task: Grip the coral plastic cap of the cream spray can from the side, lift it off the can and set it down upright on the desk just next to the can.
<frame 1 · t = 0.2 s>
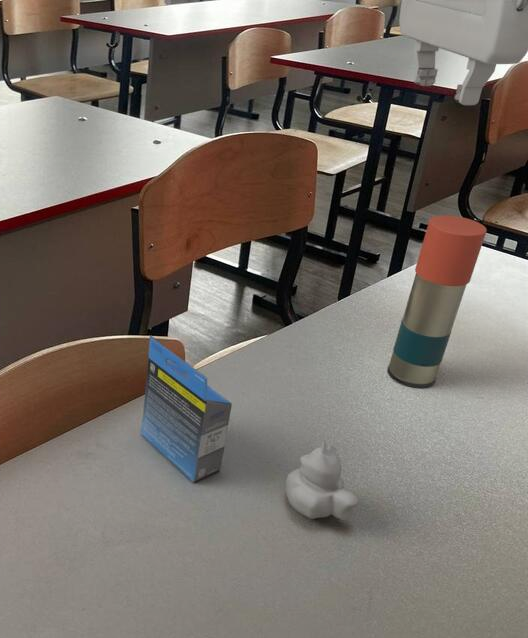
hand: (443, 93, 81), 32 cm above the table, tool pointing down, fingers open, 8 cm apart
tape cartridge: (179, 453, 78), on the table
grey animal figurine: (315, 513, 71), on the table
spray can: (410, 375, 91), on the table
cap: (442, 275, 84), point 13 cm above the table, touching spray can
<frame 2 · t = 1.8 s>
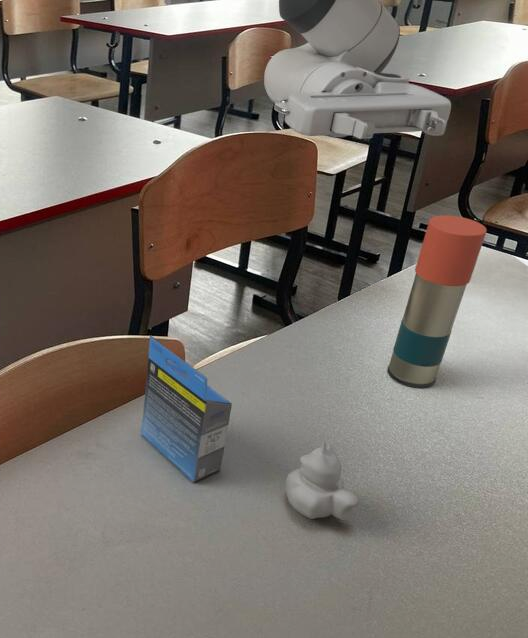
hand: (404, 130, 88), 26 cm above the table, tool horizontal, fingers open, 8 cm apart
nothing on the table moved.
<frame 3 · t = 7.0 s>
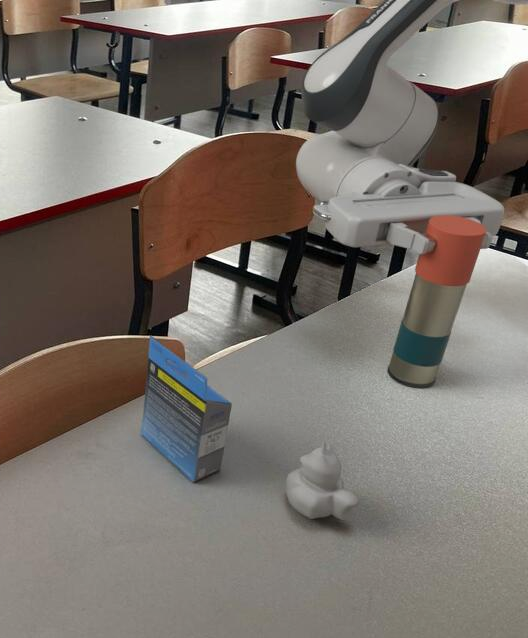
hand: (458, 245, 82), 17 cm above the table, tool horizontal, fingers closed on cap, 5 cm apart
cap: (441, 275, 84), point 14 cm above the table, touching gripper
everything else where it was.
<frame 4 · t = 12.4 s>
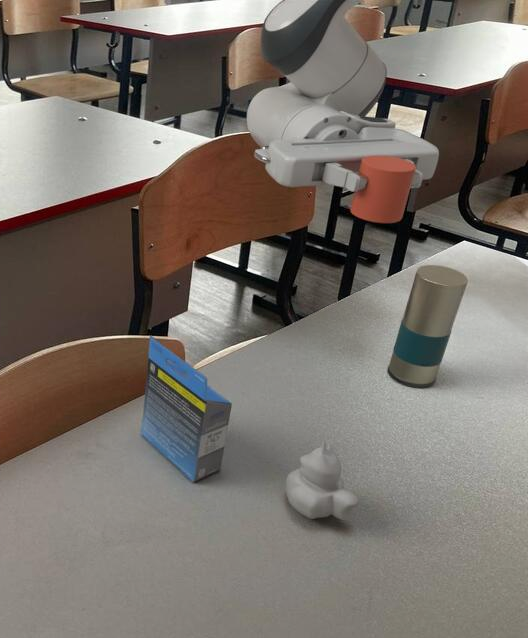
hand: (389, 183, 84), 22 cm above the table, tool horizontal, fingers closed on cap, 5 cm apart
cap: (375, 213, 87), point 18 cm above the table, touching gripper
everything else where it was.
when the fingers open (4 cm above the table, at t = 17.7 s): cap stays where it is, on the table.
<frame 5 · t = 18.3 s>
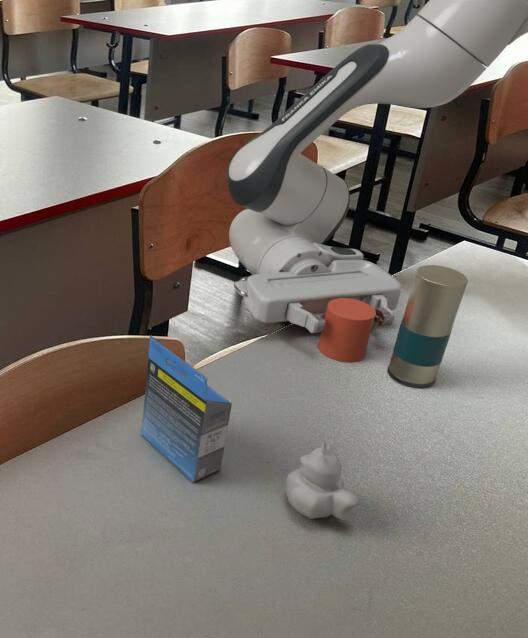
hand: (354, 324, 93), 4 cm above the table, tool horizontal, fingers open, 8 cm apart
cap: (341, 350, 96), on the table
everything else where it was.
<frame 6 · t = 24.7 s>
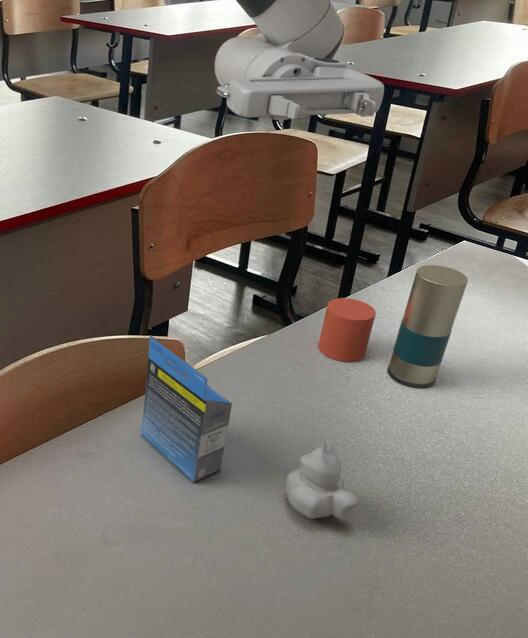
hand: (335, 111, 93), 27 cm above the table, tool horizontal, fingers open, 8 cm apart
nothing on the table moved.
at the end: cap inside the target area (0.2 cm from its centre), on the table; cap tilted 0°; the gripper is holding nothing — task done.
